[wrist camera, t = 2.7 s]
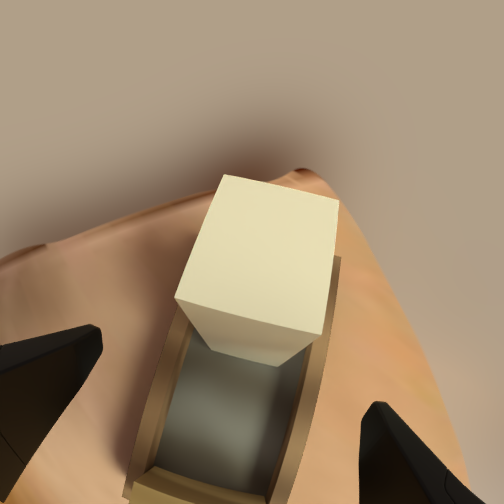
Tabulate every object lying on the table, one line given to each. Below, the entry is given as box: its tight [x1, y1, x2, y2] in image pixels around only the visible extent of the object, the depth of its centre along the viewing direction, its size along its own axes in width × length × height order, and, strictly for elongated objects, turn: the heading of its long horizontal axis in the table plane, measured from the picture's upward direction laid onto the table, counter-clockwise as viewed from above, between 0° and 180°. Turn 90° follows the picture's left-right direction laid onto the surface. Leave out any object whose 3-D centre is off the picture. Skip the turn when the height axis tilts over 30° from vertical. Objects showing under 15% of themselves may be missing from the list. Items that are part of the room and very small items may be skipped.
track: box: [122, 255, 341, 504], centre depth 15 cm, size 20×10×5 cm, turn 166°
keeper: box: [174, 174, 339, 367], centre depth 14 cm, size 5×4×11 cm
